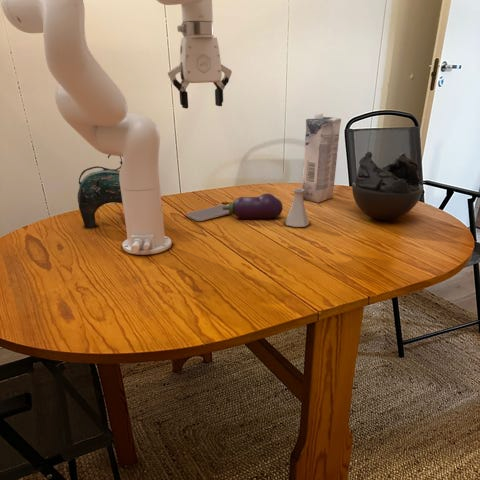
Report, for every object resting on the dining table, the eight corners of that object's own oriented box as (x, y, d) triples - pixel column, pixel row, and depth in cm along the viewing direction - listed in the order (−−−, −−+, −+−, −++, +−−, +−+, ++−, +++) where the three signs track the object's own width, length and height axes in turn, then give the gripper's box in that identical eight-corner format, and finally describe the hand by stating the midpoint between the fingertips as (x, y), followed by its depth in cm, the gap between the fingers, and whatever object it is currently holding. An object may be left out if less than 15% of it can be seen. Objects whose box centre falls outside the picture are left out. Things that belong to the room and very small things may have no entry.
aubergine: (283, 221, 133) (284, 196, 130) (222, 222, 133) (222, 197, 129) (281, 214, 140) (281, 190, 136) (223, 214, 139) (222, 191, 136)
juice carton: (336, 198, 155) (345, 113, 142) (319, 204, 149) (326, 116, 135) (315, 193, 161) (321, 111, 147) (297, 199, 154) (302, 114, 140)
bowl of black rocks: (430, 221, 133) (445, 155, 123) (386, 234, 123) (398, 163, 114) (378, 205, 147) (387, 145, 138) (334, 216, 137) (341, 152, 128)
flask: (282, 226, 129) (284, 192, 124) (287, 219, 135) (289, 185, 130) (307, 228, 127) (309, 193, 122) (311, 221, 133) (313, 187, 128)
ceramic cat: (149, 217, 138) (141, 149, 128) (152, 223, 132) (144, 153, 122) (82, 224, 132) (68, 153, 122) (82, 230, 127) (68, 157, 117)
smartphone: (185, 213, 138) (224, 204, 146) (185, 216, 138) (224, 207, 146) (198, 219, 133) (238, 209, 141) (198, 222, 133) (238, 212, 141)
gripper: (169, 30, 105) (175, 110, 113) (236, 30, 111) (237, 106, 120) (160, 31, 110) (167, 107, 119) (224, 31, 116) (226, 103, 125)
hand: (202, 106), depth 119 cm, fingers open, 9 cm apart
